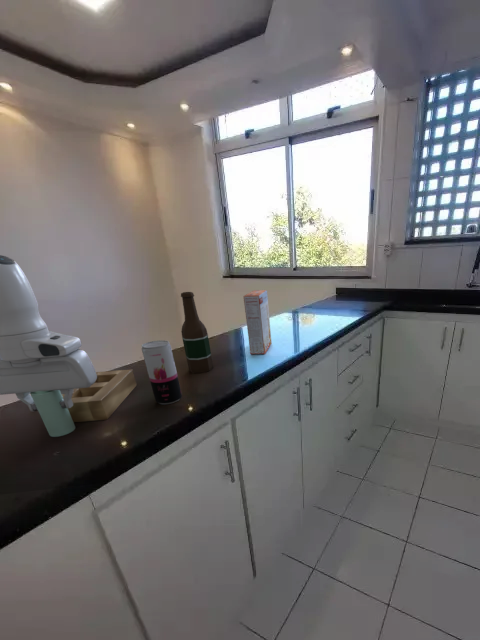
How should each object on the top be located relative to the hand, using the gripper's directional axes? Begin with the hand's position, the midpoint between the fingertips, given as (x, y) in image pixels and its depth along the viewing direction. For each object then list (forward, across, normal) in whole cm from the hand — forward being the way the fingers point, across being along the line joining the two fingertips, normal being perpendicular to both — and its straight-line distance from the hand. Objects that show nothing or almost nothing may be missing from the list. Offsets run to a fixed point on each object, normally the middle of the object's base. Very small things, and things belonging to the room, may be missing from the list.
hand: (53, 408), depth 66 cm
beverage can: (+6, +20, +12) cm, 24 cm away
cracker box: (+6, +45, +52) cm, 69 cm away
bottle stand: (+6, +2, +14) cm, 15 cm away
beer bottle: (+6, +25, +34) cm, 43 cm away
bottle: (+6, 0, 0) cm, 6 cm away
